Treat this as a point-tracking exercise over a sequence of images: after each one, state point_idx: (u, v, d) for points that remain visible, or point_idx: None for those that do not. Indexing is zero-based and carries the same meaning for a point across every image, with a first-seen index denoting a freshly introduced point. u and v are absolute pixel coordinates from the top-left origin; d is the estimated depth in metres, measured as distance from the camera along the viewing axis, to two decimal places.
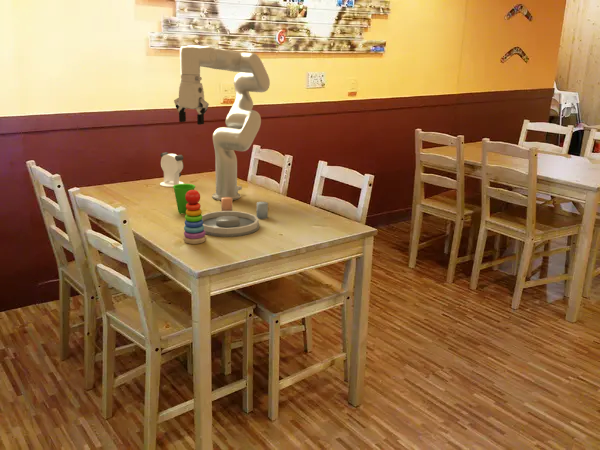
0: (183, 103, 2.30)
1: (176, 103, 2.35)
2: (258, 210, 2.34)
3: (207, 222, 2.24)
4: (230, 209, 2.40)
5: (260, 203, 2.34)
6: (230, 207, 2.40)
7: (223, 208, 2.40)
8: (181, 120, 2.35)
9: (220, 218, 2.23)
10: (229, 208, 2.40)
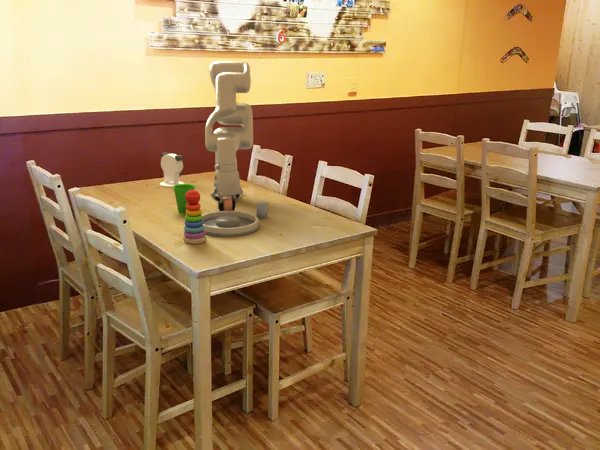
0: None
1: None
2: (258, 210, 2.34)
3: (207, 222, 2.24)
4: (230, 209, 2.40)
5: (260, 203, 2.34)
6: (230, 207, 2.40)
7: None
8: None
9: (220, 218, 2.23)
10: (229, 208, 2.40)
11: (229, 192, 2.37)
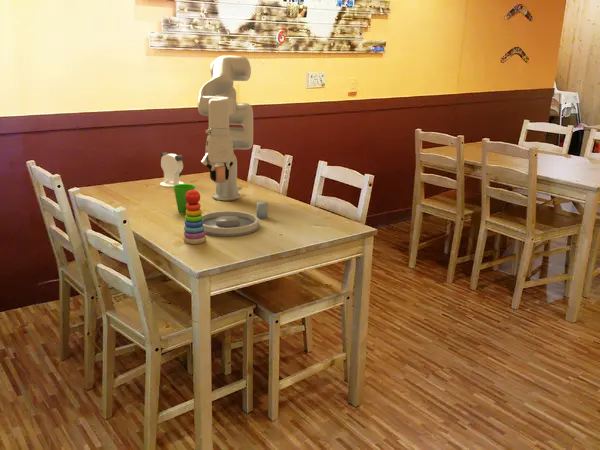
0: None
1: None
2: (258, 210, 2.34)
3: (207, 222, 2.24)
4: (223, 178, 2.23)
5: (260, 203, 2.34)
6: (223, 175, 2.22)
7: None
8: None
9: (220, 218, 2.23)
10: (222, 177, 2.22)
11: (222, 159, 2.20)
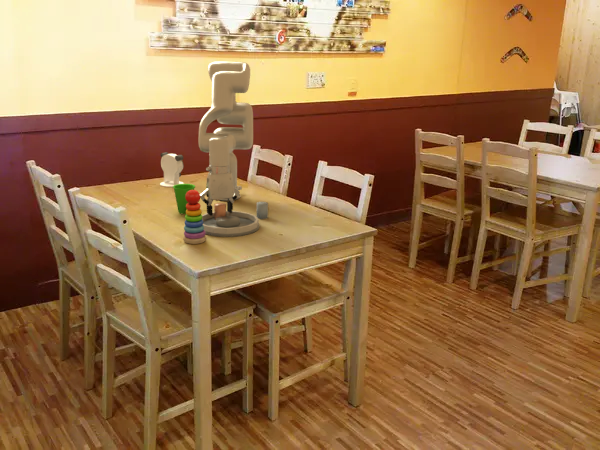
0: None
1: None
2: (258, 210, 2.34)
3: (207, 222, 2.24)
4: None
5: (260, 203, 2.34)
6: (223, 213, 2.27)
7: (216, 215, 2.27)
8: (227, 209, 2.31)
9: (220, 218, 2.23)
10: (222, 215, 2.27)
11: (222, 196, 2.24)
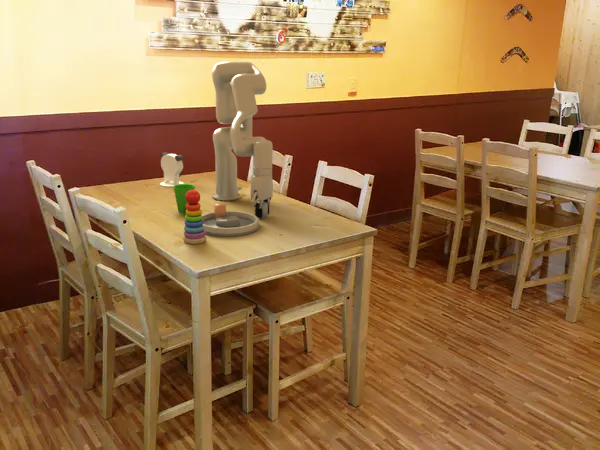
0: (264, 196, 2.31)
1: (255, 202, 2.30)
2: None
3: (207, 222, 2.24)
4: None
5: None
6: (223, 213, 2.27)
7: (216, 215, 2.27)
8: None
9: (220, 218, 2.23)
10: (222, 215, 2.27)
11: None
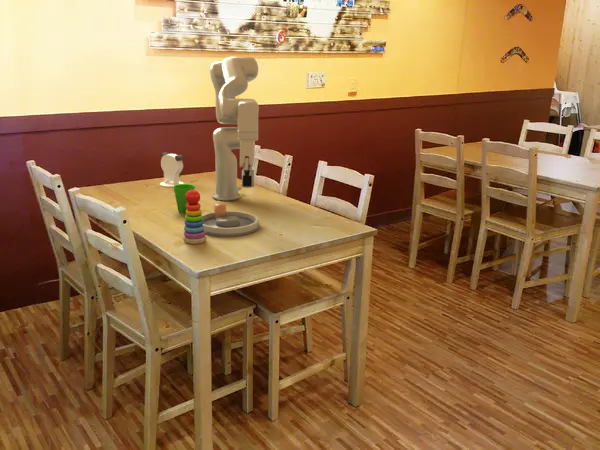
0: (253, 162, 2.14)
1: None
2: None
3: (207, 222, 2.24)
4: None
5: None
6: (223, 213, 2.27)
7: (216, 215, 2.27)
8: None
9: (220, 218, 2.23)
10: (222, 215, 2.27)
11: None
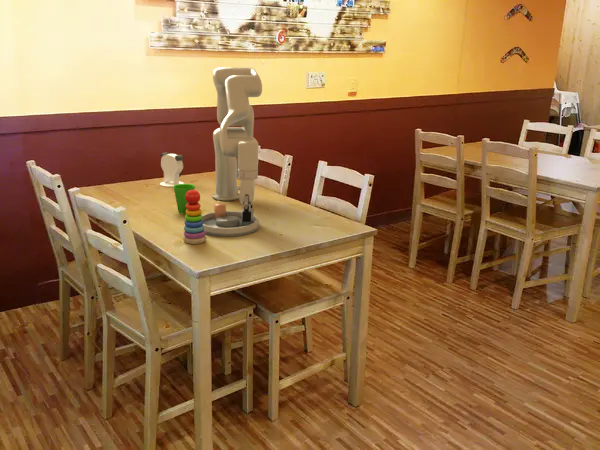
0: None
1: (247, 205, 2.13)
2: None
3: (207, 222, 2.24)
4: None
5: None
6: (223, 213, 2.27)
7: (216, 215, 2.27)
8: None
9: (220, 218, 2.23)
10: (222, 215, 2.27)
11: None
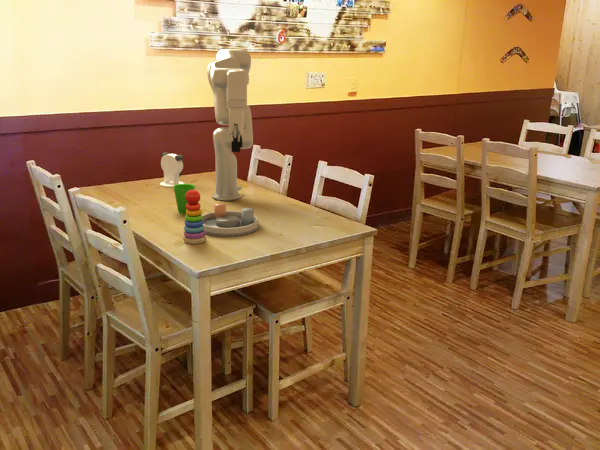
0: (242, 130, 2.19)
1: (236, 133, 2.14)
2: (246, 217, 2.20)
3: (207, 222, 2.24)
4: None
5: (246, 210, 2.21)
6: (223, 213, 2.27)
7: (216, 215, 2.27)
8: None
9: (220, 218, 2.23)
10: (222, 215, 2.27)
11: None
